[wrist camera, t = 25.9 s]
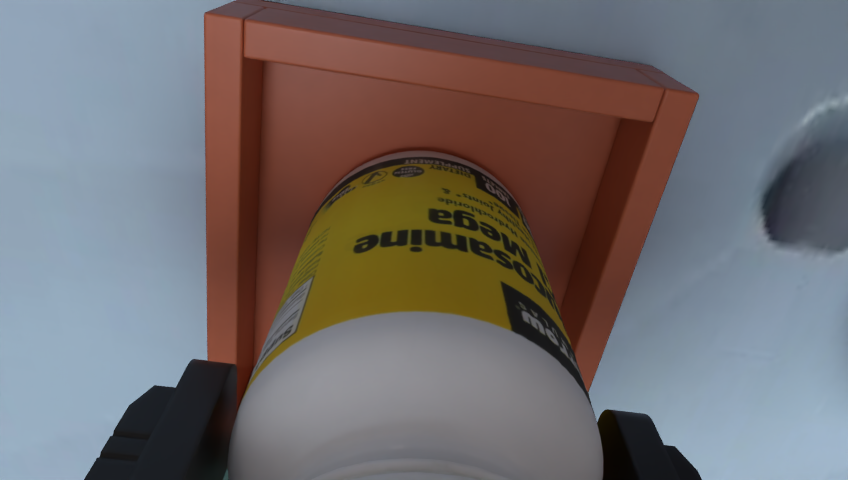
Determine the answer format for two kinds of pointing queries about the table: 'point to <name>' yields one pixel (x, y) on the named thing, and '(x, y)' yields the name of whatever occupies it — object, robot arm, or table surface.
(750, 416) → the table surface
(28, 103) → the table surface
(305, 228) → the terracotta tray
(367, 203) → the pill bottle
